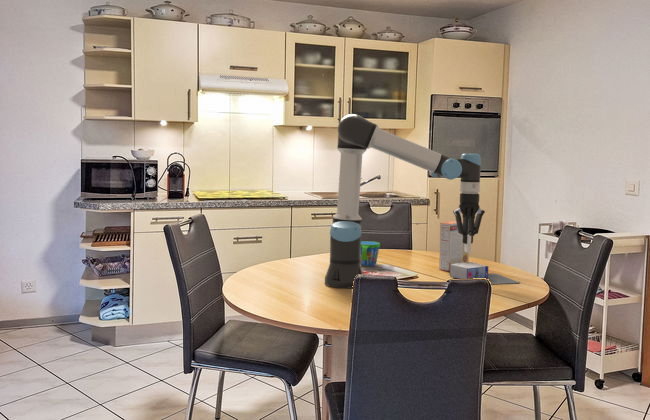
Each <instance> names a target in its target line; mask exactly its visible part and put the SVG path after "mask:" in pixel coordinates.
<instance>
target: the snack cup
mask: <svg viewBox="0 0 650 420" xmlns="http://www.w3.org/2000/svg"><path fill="white" fill-rule="evenodd" d="M380 248H381V243H380V242H377V241H370V240H369V241H366V240H365V241H364V240H363V241H362V240H361V254H360V265H361V267H362V266H363V267H375V266H376V265H377V263H378V256H379V251H380Z"/></svg>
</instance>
